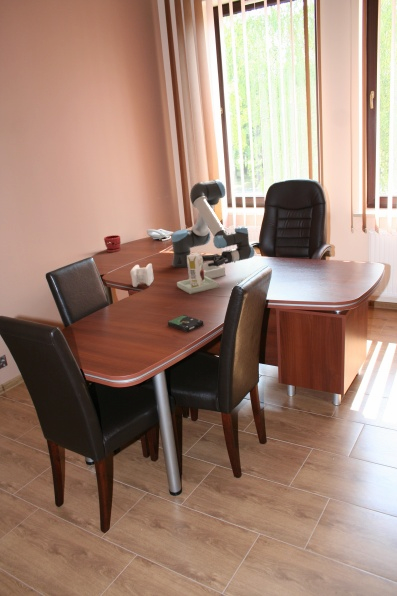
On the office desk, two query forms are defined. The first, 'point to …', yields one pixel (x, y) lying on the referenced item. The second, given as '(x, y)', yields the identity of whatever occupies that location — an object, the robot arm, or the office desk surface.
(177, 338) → the office desk surface
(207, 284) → the tray
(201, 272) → the juice carton
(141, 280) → the cable organizer
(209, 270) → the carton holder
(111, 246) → the plant pot
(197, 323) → the disk drive
